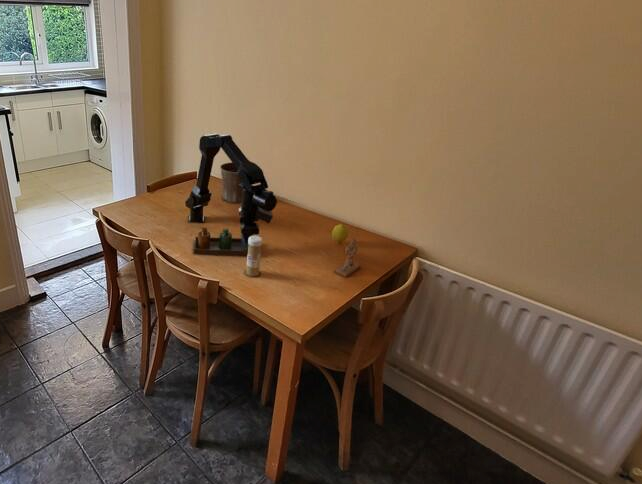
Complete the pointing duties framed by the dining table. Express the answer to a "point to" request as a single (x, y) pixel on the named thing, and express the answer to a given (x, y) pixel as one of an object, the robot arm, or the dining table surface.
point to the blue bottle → (244, 242)
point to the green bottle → (225, 240)
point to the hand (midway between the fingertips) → (246, 240)
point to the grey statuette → (349, 266)
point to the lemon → (340, 233)
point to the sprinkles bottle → (254, 255)
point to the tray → (215, 250)
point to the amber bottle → (204, 239)
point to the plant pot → (231, 183)
